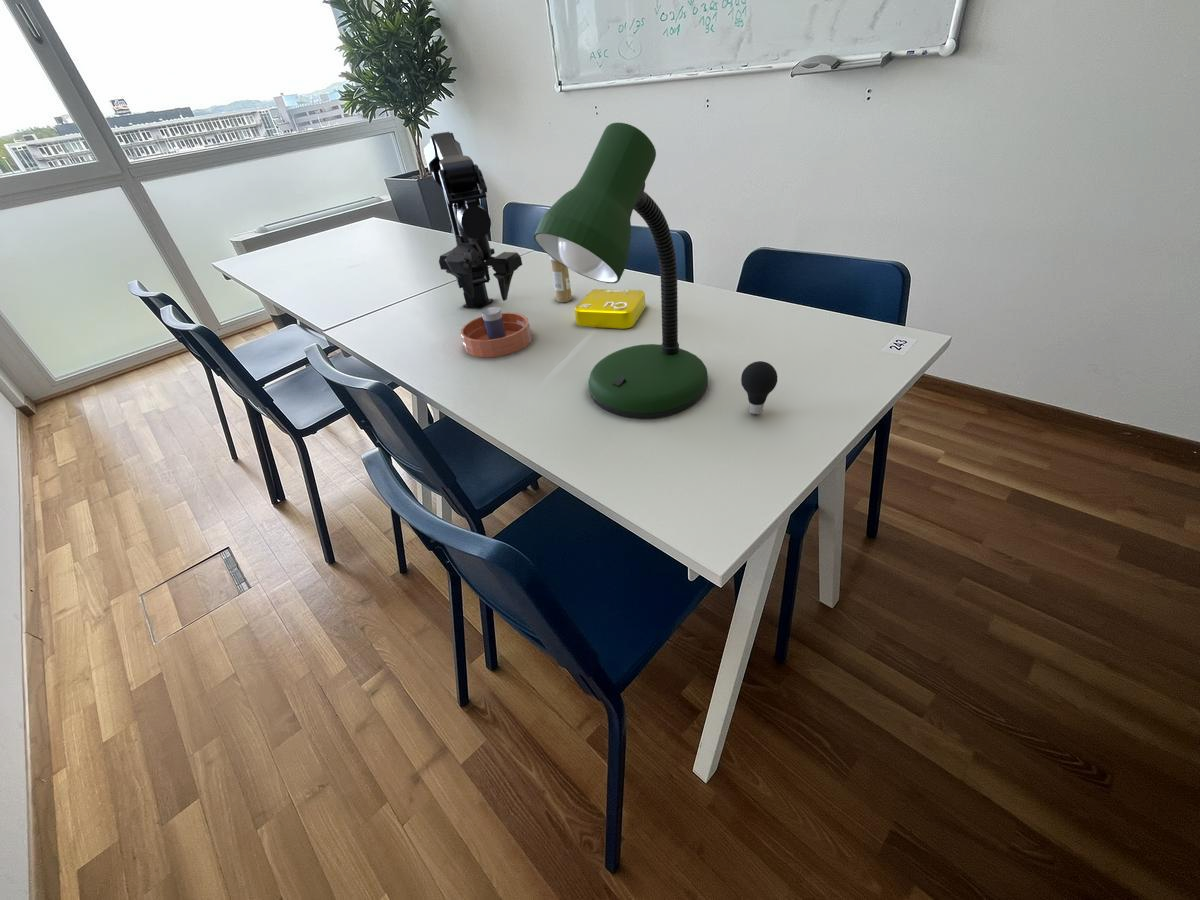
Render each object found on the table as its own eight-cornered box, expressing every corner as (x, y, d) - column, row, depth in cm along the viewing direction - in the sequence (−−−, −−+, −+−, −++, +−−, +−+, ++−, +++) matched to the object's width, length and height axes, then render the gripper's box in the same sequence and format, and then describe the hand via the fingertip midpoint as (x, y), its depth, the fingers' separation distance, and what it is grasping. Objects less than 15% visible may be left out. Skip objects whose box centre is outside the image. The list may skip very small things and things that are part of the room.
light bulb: (734, 407, 93) (737, 357, 87) (766, 403, 93) (771, 353, 87) (744, 425, 88) (748, 373, 82) (777, 420, 88) (784, 369, 82)
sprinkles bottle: (575, 299, 144) (569, 250, 135) (561, 304, 142) (554, 254, 134) (567, 295, 147) (560, 247, 139) (553, 299, 145) (545, 251, 137)
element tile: (647, 305, 135) (646, 287, 132) (631, 329, 124) (630, 310, 121) (593, 303, 140) (592, 286, 137) (574, 326, 129) (571, 308, 126)
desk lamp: (624, 456, 84) (597, 141, 57) (536, 412, 98) (481, 140, 71) (729, 379, 101) (746, 105, 74) (641, 350, 114) (629, 110, 87)
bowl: (490, 326, 134) (486, 310, 131) (543, 332, 128) (540, 315, 125) (451, 354, 122) (446, 337, 120) (508, 362, 116) (504, 344, 114)
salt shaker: (495, 337, 127) (488, 306, 123) (511, 339, 126) (504, 307, 121) (485, 345, 124) (477, 313, 119) (501, 347, 122) (493, 315, 118)
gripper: (412, 237, 107) (434, 309, 116) (486, 239, 100) (503, 316, 109) (446, 223, 115) (463, 291, 124) (516, 224, 108) (529, 296, 117)
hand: (488, 298), depth 118 cm, fingers open, 9 cm apart
